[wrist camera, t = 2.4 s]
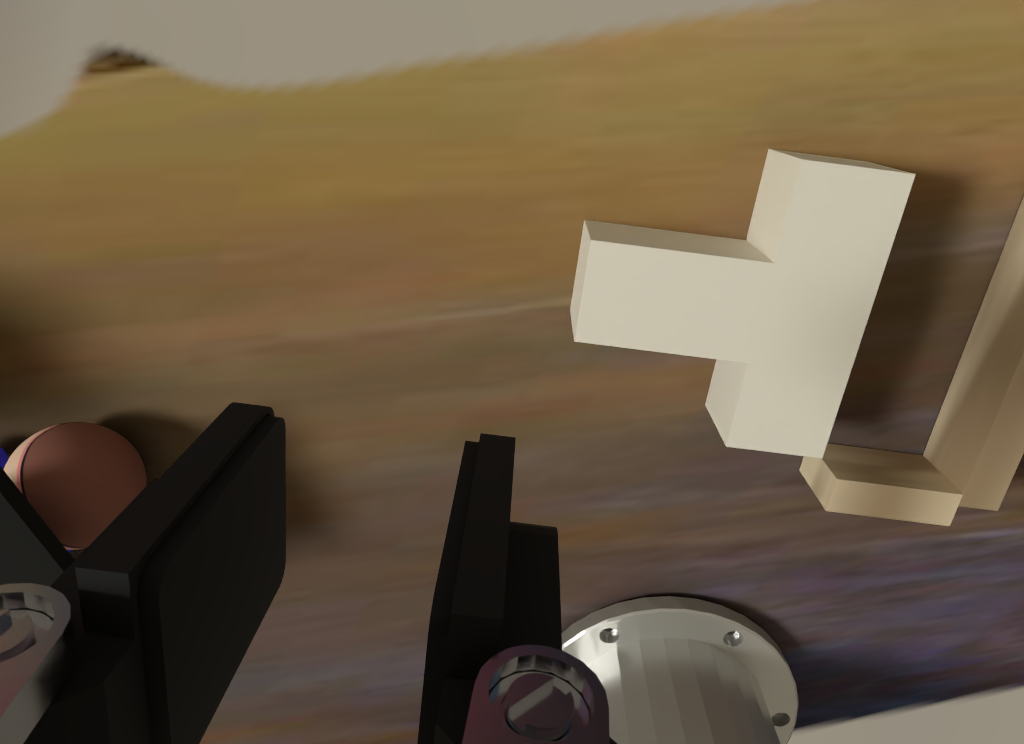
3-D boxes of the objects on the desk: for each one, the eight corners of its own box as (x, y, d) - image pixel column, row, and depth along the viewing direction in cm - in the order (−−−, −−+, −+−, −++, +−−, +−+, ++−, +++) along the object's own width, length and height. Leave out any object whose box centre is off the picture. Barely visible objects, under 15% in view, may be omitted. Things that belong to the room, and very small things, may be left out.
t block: (867, 161, 25) (915, 174, 22) (790, 415, 29) (822, 458, 26) (599, 126, 25) (607, 134, 22) (557, 386, 29) (560, 426, 26)
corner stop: (1089, 143, 24) (1159, 151, 22) (946, 488, 30) (988, 530, 27) (910, 120, 24) (957, 125, 22) (799, 470, 30) (825, 511, 27)
